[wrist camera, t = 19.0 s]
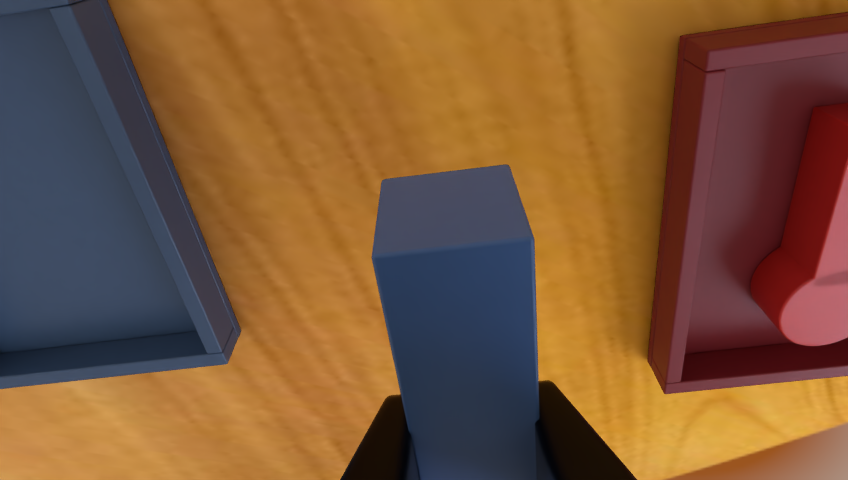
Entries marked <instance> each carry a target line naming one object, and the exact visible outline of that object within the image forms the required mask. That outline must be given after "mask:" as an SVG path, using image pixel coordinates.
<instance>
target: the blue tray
mask: <svg viewBox="0 0 848 480" xmlns="http://www.w3.org/2000/svg"><path fill="white" fill-rule="evenodd" d="M240 333H241V329H240V327H239V324H238V322H237V320H236V317H235V315H234V312H233V310H232V307H231V305H230V302H229V300H228V297H227V295H226V292H225V290H224V287H223V285H222V283H221V280H220V278H219V275H218V273H217V270H216V268H215V265H214V263H213V260H212V258H211V255H210V253H209V251H208V248H207V246H206V243H205V241H204V238H203V236H202V233H201V231H200V228H199V226H198V223H197V221H196V218H195V216H194V214H193V211H192V209H191V206H190V204H189V201H188V199H187V196H186V194H185V191H184V189H183V186H182V184H181V182H180V179H179V177H178V174H177V172H176V169H175V167H174V164H173V162H172V159H171V157H170V154H169V152H168V149H167V147H166V145H165V142H164V140H163V137H162V135H161V132H160V130H159V127H158V125H157V122H156V120H155V117H154V115H153V113H152V110H151V108H150V105H149V103H148V100H147V98H146V95H145V93H144V90H143V88H142V85H141V83H140V80H139V78H138V76H137V73H136V71H135V68H134V66H133V63H132V61H131V58H130V56H129V53H128V51H127V48H126V46H125V44H124V41H123V39H122V36H121V34H120V31H119V29H118V26H117V24H116V21H115V19H114V16H113V14H112V11H111V9H110V7H109V4H108V2H107V0H0V389H4V388H14V387H23V386H32V385H41V384H50V383H59V382H68V381H77V380H87V379H96V378H105V377H114V376H123V375H132V374H141V373H151V372H160V371H169V370H178V369H187V368H196V367H205V366H214V365H224V364H227V363H228V361H229V359H230V356H231V354H232V351H233V349H234V347H235V344H236V342H237V339H238V337H239V335H240Z"/></svg>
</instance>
